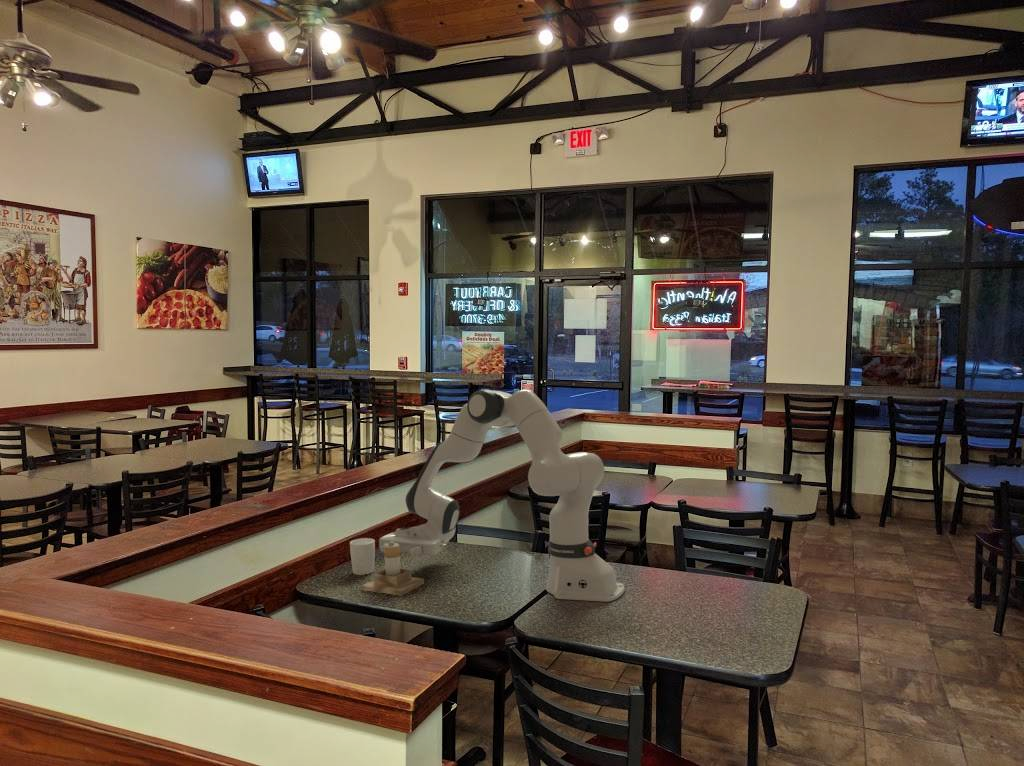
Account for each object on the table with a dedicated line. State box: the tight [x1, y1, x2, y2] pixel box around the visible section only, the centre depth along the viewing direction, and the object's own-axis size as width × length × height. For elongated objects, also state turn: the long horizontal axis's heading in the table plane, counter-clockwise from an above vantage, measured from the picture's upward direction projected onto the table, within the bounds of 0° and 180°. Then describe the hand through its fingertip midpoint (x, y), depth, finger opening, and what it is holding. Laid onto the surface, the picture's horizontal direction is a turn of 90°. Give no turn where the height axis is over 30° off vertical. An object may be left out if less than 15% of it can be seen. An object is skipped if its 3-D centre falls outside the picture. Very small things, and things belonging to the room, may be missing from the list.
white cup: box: [349, 537, 376, 576], centre depth 228 cm, size 8×8×10 cm
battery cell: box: [383, 542, 401, 577], centre depth 212 cm, size 4×4×12 cm
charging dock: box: [361, 568, 425, 597], centre depth 212 cm, size 14×12×4 cm
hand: (395, 551), depth 214 cm, fingers open, 8 cm apart
